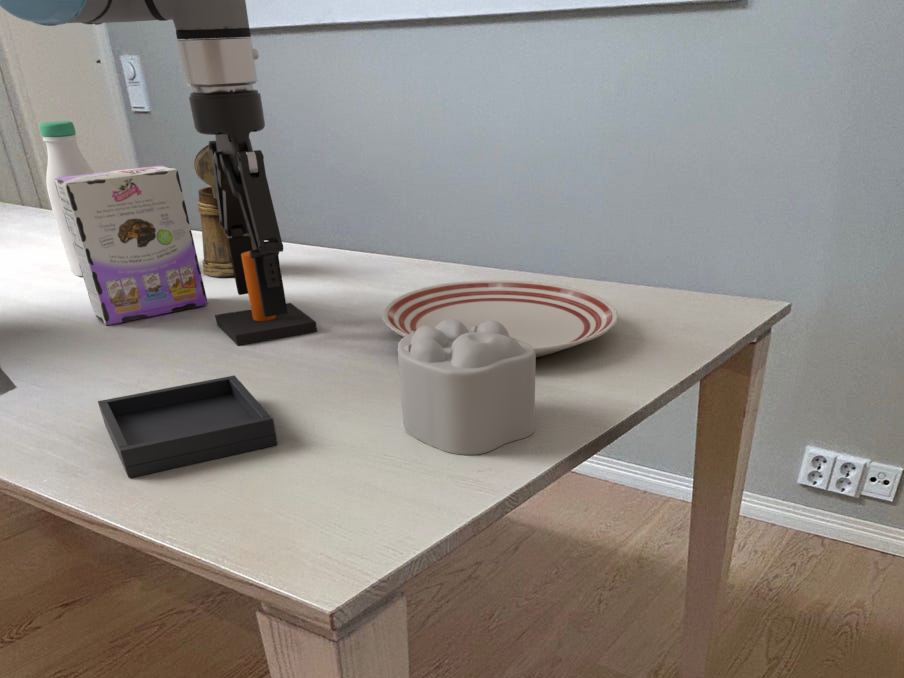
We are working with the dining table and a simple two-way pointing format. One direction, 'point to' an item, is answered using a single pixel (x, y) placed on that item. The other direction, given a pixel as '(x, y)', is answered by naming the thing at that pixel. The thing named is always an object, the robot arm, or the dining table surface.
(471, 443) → the lumpy-topped squat cylinder
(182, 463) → the shallow rectangular tray
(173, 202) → the candy box
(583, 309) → the dinner plate
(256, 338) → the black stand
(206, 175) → the wooden mug
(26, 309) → the dining table surface
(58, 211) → the milk bottle
